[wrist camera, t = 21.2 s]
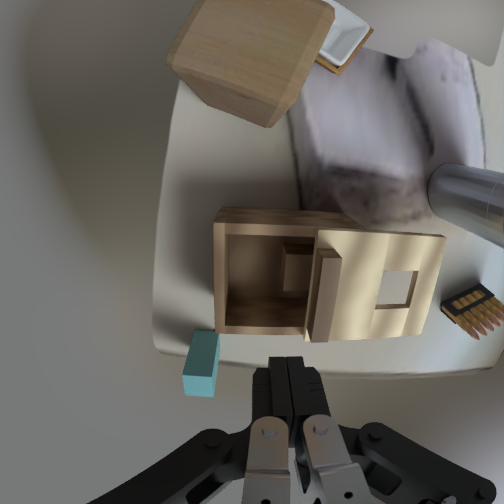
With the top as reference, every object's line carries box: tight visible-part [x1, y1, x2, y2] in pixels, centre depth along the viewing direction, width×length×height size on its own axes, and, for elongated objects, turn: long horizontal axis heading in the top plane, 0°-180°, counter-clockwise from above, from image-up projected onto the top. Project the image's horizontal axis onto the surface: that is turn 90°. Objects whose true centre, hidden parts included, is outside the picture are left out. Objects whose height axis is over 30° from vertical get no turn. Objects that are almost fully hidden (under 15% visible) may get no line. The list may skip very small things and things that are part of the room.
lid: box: [303, 227, 446, 343], centre depth 32 cm, size 17×14×4 cm
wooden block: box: [166, 0, 335, 128], centre depth 25 cm, size 10×10×20 cm
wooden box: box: [213, 207, 366, 335], centre depth 38 cm, size 17×14×9 cm
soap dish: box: [315, 0, 373, 75], centre depth 30 cm, size 12×10×5 cm
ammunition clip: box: [441, 284, 504, 340], centre depth 40 cm, size 11×2×12 cm, turn 108°
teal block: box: [182, 330, 220, 397], centre depth 42 cm, size 4×4×11 cm
